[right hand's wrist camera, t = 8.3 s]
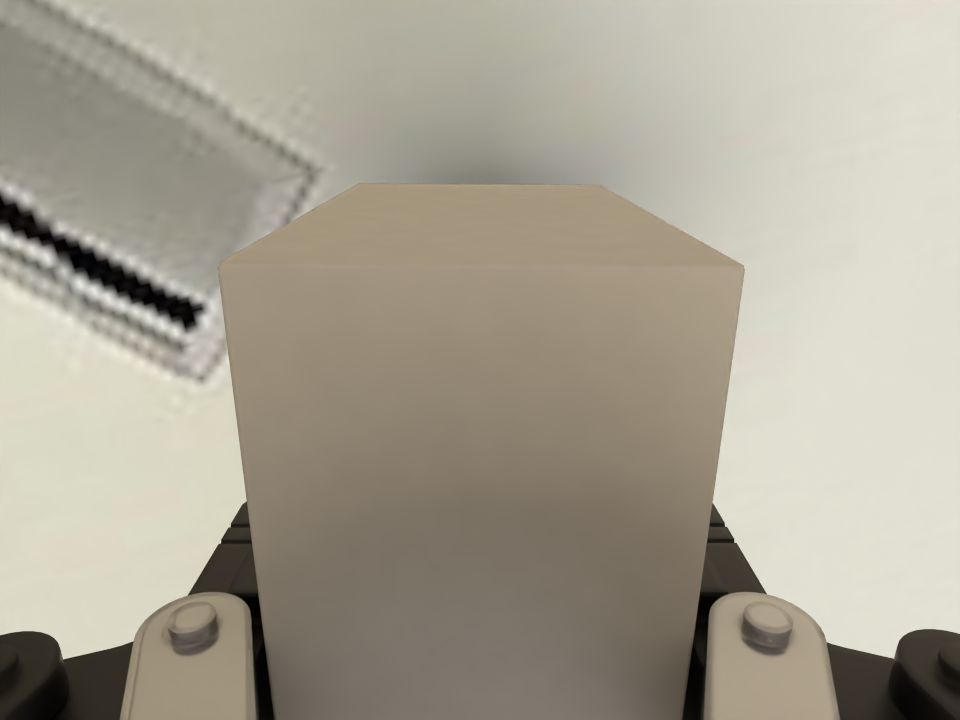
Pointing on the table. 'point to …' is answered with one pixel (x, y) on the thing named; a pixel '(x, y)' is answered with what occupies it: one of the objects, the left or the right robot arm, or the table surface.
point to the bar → (479, 450)
